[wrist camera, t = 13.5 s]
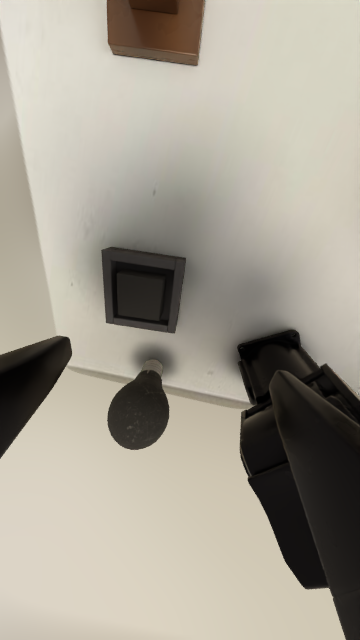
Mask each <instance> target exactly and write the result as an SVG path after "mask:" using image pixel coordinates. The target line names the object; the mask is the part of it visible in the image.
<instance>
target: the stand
mask: <svg viewBox="0 0 360 640" xmlns="http://www.w3.org/2000/svg"><path fill="white" fill-rule="evenodd" d="M204 6H205V0H107V24H108V44H109V46H110V48H111V50H112V53H113V54H118V55H126V56H133V57H140V58H147V59H155V60H162V61H169V62H176V63H184V64H191V65H198V58H199V49H200V40H201V32H202V23H203V14H204Z"/></svg>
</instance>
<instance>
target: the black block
mask: <svg viewBox="0 0 360 640" xmlns="http://www.w3.org/2000/svg"><path fill="white" fill-rule="evenodd" d="M165 283H166V275H165V274H158V273H152V272H145V271H138V270H131V269H123V270H122V271H120V272H118V273H117V295H118V315H123V316H129V317H136V318H142V319H149V320H156V321H159V320H160V318H161V315H162V313H163V304H164V294H165Z"/></svg>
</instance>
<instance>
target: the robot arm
mask: <svg viewBox="0 0 360 640" xmlns="http://www.w3.org/2000/svg"><path fill="white" fill-rule="evenodd" d="M292 334H294V335H293V336H292ZM241 348H243V349H241ZM237 349H238V352H239V355H240V358H241V361H239V362H238V365H239V369H240V372H241V375H242V379H243V382H244V385H245V389H246V392H247V394H248V397H249V400H250V403H251V404H252V405H255V406H254V407H252V408H250V409H248V410H244V411H243V412H241V433H240V454H241V460H242V462H243V466H244V468H245V470H246V473H247V474H248V482H249V484H250V486H251V487H252V489H253V491H254V492H255V494H256V495H257V497H258V498H259V500H260V502H261V504H262V506H263V508H264V510H265V512H266V514H267V516H268V519H269V521H270V524H271V526H272V529H273V531H274V534H275V537H276V539H277V542H278V545H279V547H280V550H281V552H282V555H283V558H284V559H285V562H286V563H287V565H288V566H289V568H290V569H291V571H292V572H293V573H294V575H295V576H296V578H297V579H298V581H299V582H300V583H301V585H302V586H303V587H304V588H305V589H318V588H319V589H320V588H329V589H330V591H331V594H332V596H333V601H334V604H335V607H336V610H337V614H338V616H339V620H340V623H341V626H342V629H343V632H344V635H345V638H346V640H360V397H359V396H358V395H357V394H356V393H355V392H354V391H353V390H352V389H351V388H350V387H349V386H348V385H347V384H346V383H345V382H344V381H343V380H342V379H341V378H340V377H339V376H338V375H337V374H336V373H335V372H334V371H333V370H332V369H331V368H330V367H329V366H328V365H327V364H324V365H322V366H321V367H319V366H318V365H317V364H316V363H315V362H314V360H313V359H312V358H311V357H310V356H309V355H308V354H307V352H306V351H305V350H304V349H303V348H302V347H301V343H300V336H299V333H298V332H297V331H296V330H289V331H286V332H282V333H279V334H275V335H271V336H268V337H264V338H260V339H257V340H253V341H249V342H246V343H242V344H239V345H238V347H237ZM71 356H72V349H71V343H70V339H69V338H68V337H64V336H56V337H53V338H50V339H47V340H44V341H41V342H38V343H35V344H32V345H29V346H26V347H23V348H20V349H17V350H14V351H11V352H8V353H5V354H2V355H0V458H1V457H2V456H3V454H4V453H5V452H6V450H7V449H8V448H9V446H10V445H11V444H12V442H13V441H14V439H15V438H16V437H17V435H18V434H19V433H20V431H21V430H22V429H23V427H24V426H25V425H26V423H27V422H28V421H29V419H30V418H31V417H32V415H33V414H34V413H35V411H36V410H37V409H38V407H39V406H40V404H41V403H42V402H43V401H44V399H45V398H46V397H47V395H48V394H49V392H50V391H51V390H52V388H53V387H54V385H55V383H56V382H57V380H58V378H59V377H60V375H61V373H62V372H63V370H64V368H65V367H66V365H67V363H68V362H69V360H70V358H71Z"/></svg>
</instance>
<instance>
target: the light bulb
mask: <svg viewBox="0 0 360 640" xmlns="http://www.w3.org/2000/svg"><path fill="white" fill-rule="evenodd" d="M162 372H163V366H162V364H161V363H160V362H159V361H157V360H148V361H146V362H145V363H144V365H143V367H142V370H141V372H140V373H139V374H138V376H137V377H136V379H135V380H133V381H132V382H130V383H128V384H127V385H125V386H124V387H123V388H122V389H121V390H120V391H119V392H118V393H117V394H116V395H115V397H114V398H113V400H112V402H111V404H110V407H109V411H108V420H107V421H108V427H109V431H110V433H111V436H112V437H113V438H114V440H115V441H116V442H117V443H118V444H119V445H120V446H122V447H124V448H127V449H131V450H138V449H143V448H146V447H148V446H150V445H152V444H153V443H155V442H156V441H157V440H158V439H159V438H160V436H161V435H162V434H163V432H164V430H165V428H166V426H167V423H168V419H169V405H168V400H167V397H166V394H165V392H164V390H163V388H162V379H161V376H162Z"/></svg>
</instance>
